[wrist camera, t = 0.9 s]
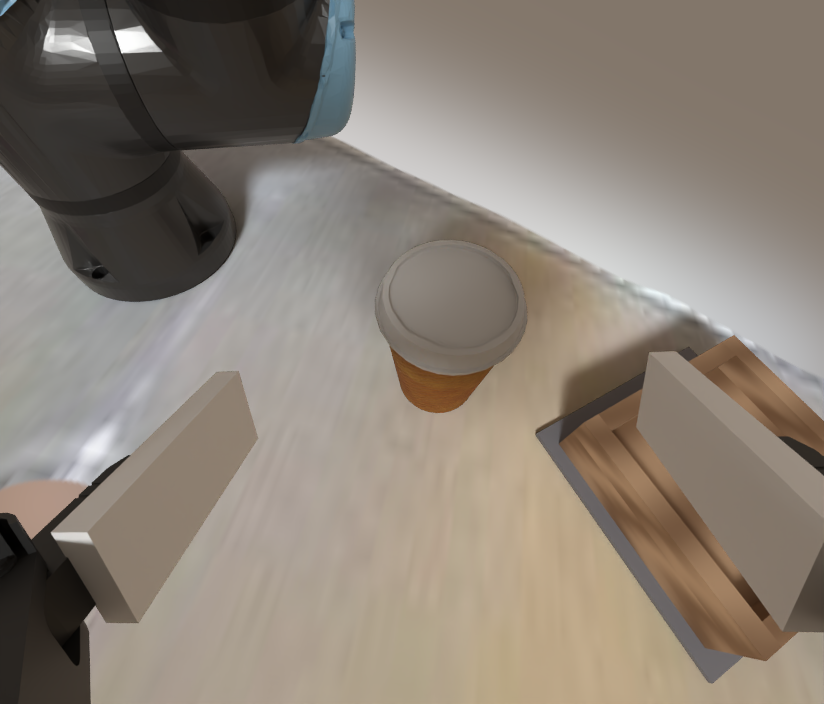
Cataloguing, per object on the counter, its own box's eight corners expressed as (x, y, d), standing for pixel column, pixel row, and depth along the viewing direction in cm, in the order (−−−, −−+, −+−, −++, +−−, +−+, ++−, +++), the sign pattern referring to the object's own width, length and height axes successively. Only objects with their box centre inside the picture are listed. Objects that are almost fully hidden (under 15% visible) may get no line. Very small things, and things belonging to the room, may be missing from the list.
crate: (558, 443, 33) (583, 422, 28) (693, 364, 37) (734, 335, 32) (705, 648, 27) (765, 661, 22) (848, 527, 31) (924, 518, 26)
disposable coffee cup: (360, 361, 36) (345, 271, 26) (450, 314, 39) (471, 214, 28) (419, 455, 32) (431, 394, 22) (515, 395, 35) (566, 316, 25)
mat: (535, 434, 34) (536, 433, 33) (686, 348, 38) (688, 346, 38) (708, 682, 26) (712, 683, 26) (870, 540, 31) (876, 539, 30)
